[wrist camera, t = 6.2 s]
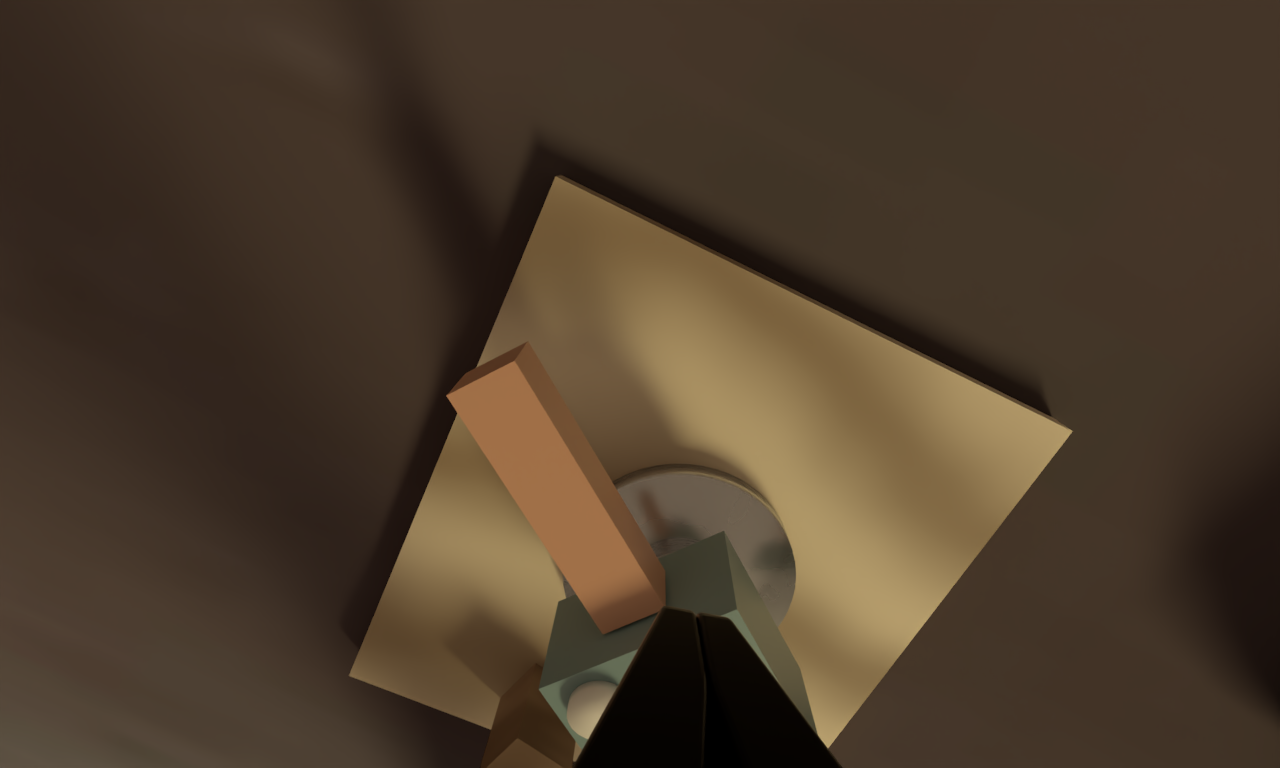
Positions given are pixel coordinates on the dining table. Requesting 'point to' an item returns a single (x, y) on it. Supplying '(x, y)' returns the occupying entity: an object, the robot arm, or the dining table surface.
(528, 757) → the block
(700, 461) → the board
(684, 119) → the dining table surface
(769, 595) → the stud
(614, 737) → the robot arm
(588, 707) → the cap
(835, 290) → the dining table surface
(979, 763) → the dining table surface
